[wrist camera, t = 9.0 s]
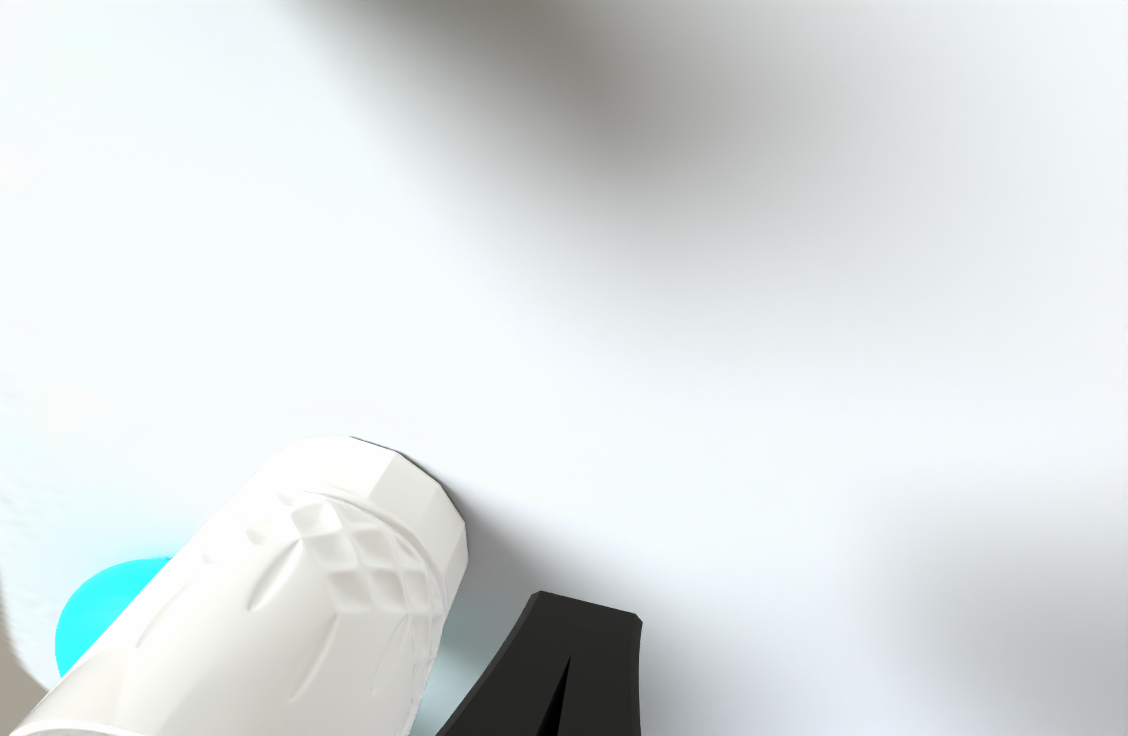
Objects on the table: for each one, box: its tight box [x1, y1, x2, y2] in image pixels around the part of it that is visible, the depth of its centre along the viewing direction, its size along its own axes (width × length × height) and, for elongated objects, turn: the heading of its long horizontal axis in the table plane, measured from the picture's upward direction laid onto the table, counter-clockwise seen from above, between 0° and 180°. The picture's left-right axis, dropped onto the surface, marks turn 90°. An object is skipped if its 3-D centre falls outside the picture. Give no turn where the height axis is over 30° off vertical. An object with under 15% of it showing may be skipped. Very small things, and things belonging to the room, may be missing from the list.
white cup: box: [9, 436, 469, 736], centre depth 22 cm, size 8×8×10 cm
